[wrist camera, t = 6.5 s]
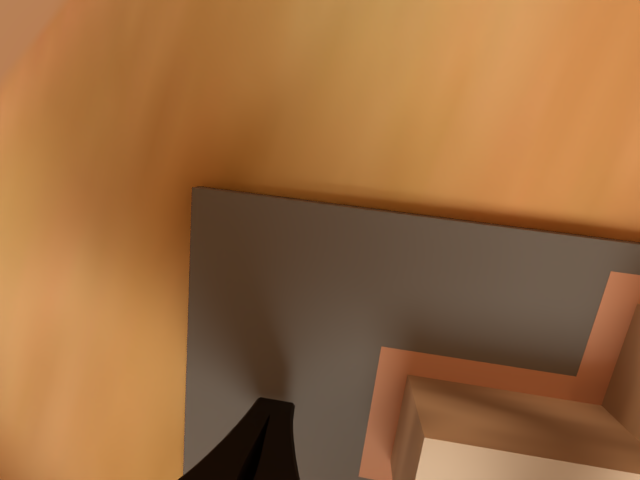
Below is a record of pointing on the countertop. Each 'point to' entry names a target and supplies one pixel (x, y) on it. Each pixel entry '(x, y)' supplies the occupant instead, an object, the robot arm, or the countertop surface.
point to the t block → (520, 430)
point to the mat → (385, 318)
